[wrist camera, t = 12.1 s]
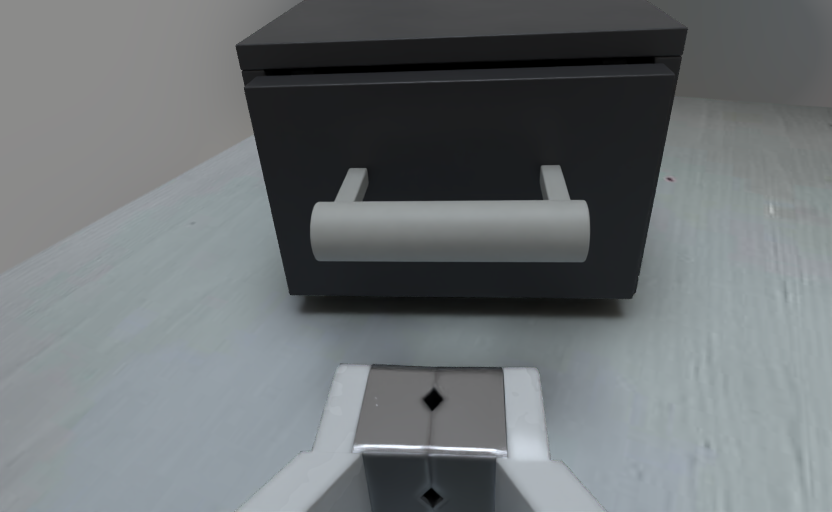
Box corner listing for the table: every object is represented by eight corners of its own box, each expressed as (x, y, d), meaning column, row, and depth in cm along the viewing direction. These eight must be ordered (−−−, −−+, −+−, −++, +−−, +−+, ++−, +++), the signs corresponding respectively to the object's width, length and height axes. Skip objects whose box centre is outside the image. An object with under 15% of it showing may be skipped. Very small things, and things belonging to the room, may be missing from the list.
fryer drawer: (667, 391, 16) (736, 130, 12) (250, 379, 17) (179, 141, 13) (576, 149, 31) (592, -5, 27) (354, 153, 32) (336, 6, 28)
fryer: (636, 294, 21) (689, 27, 16) (289, 290, 23) (234, 44, 18) (578, 146, 34) (597, -34, 28) (354, 150, 35) (333, -20, 30)
